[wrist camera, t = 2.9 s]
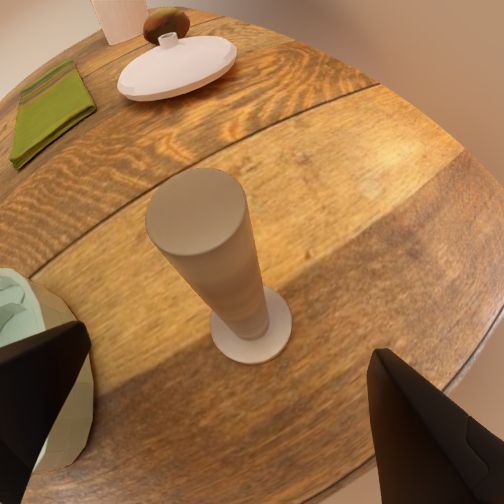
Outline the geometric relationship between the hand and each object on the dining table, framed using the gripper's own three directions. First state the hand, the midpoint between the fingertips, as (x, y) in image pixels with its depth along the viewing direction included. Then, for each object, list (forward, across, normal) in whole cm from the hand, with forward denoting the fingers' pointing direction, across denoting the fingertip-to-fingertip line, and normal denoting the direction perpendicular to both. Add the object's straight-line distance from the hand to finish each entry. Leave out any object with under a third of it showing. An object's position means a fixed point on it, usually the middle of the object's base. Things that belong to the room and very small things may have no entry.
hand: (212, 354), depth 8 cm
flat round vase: (+30, +12, -16) cm, 36 cm away
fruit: (+41, +18, -27) cm, 52 cm away
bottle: (+53, +34, -38) cm, 74 cm away
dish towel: (+33, +41, -19) cm, 56 cm away
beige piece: (+9, 0, +5) cm, 10 cm away
